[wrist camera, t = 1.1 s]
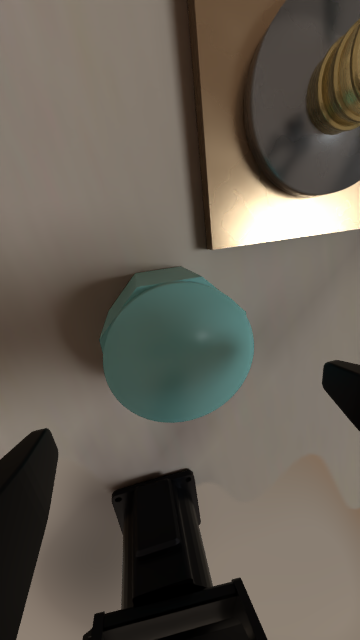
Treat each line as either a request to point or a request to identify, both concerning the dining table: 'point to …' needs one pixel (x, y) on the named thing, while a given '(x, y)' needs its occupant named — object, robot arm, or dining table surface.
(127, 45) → the dining table surface
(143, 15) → the dining table surface
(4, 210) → the dining table surface
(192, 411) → the cap
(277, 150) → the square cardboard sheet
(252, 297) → the dining table surface
